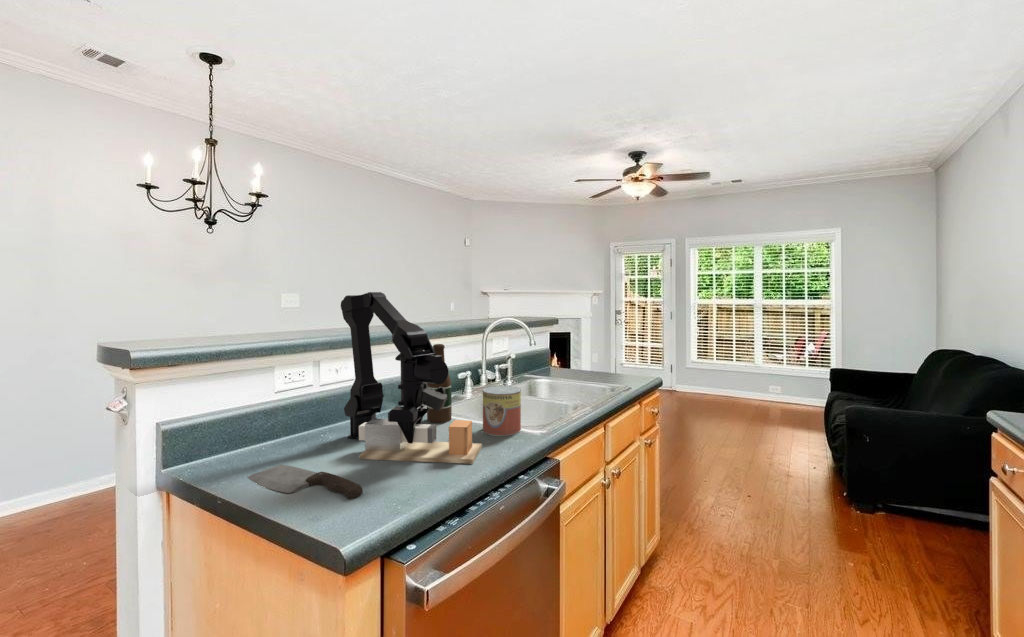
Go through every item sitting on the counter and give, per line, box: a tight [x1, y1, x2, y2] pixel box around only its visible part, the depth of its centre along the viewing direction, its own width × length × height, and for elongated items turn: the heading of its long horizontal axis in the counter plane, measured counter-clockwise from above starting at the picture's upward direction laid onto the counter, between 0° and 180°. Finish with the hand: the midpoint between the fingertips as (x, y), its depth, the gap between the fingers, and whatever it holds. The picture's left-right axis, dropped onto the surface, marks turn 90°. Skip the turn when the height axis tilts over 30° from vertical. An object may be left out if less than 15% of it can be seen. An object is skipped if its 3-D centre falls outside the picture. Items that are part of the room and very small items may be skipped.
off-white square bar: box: [358, 422, 437, 443], centre depth 121 cm, size 19×4×4 cm, turn 83°
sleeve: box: [364, 418, 407, 452], centre depth 122 cm, size 9×5×7 cm, turn 83°
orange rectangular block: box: [448, 419, 473, 455], centre depth 120 cm, size 4×6×7 cm
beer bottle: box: [426, 343, 453, 424], centre depth 151 cm, size 8×8×24 cm
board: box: [359, 441, 483, 465], centre depth 121 cm, size 28×12×1 cm, turn 83°
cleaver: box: [246, 464, 364, 500], centre depth 101 cm, size 29×10×2 cm, turn 61°
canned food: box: [482, 385, 522, 437], centre depth 140 cm, size 11×11×12 cm
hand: (413, 440), depth 121 cm, fingers closed on off-white square bar, 4 cm apart
